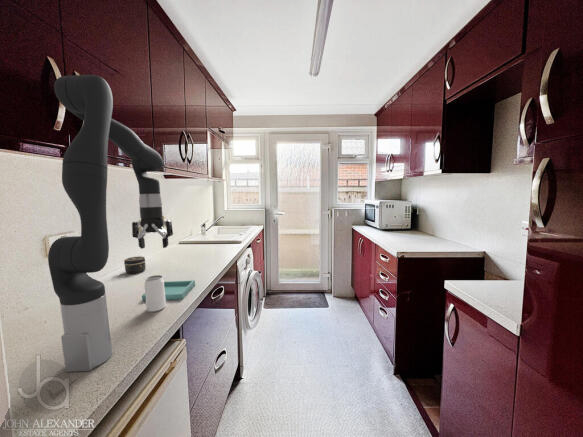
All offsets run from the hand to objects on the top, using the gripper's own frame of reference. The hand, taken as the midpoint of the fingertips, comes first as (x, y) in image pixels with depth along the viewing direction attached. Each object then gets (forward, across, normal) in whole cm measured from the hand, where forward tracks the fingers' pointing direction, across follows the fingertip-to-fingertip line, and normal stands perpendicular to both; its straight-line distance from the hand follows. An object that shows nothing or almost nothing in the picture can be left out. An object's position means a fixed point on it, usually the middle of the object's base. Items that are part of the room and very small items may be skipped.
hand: (154, 247), depth 102 cm
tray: (+22, 0, +11) cm, 25 cm away
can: (+23, +1, -4) cm, 23 cm away
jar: (+22, -32, +44) cm, 59 cm away
